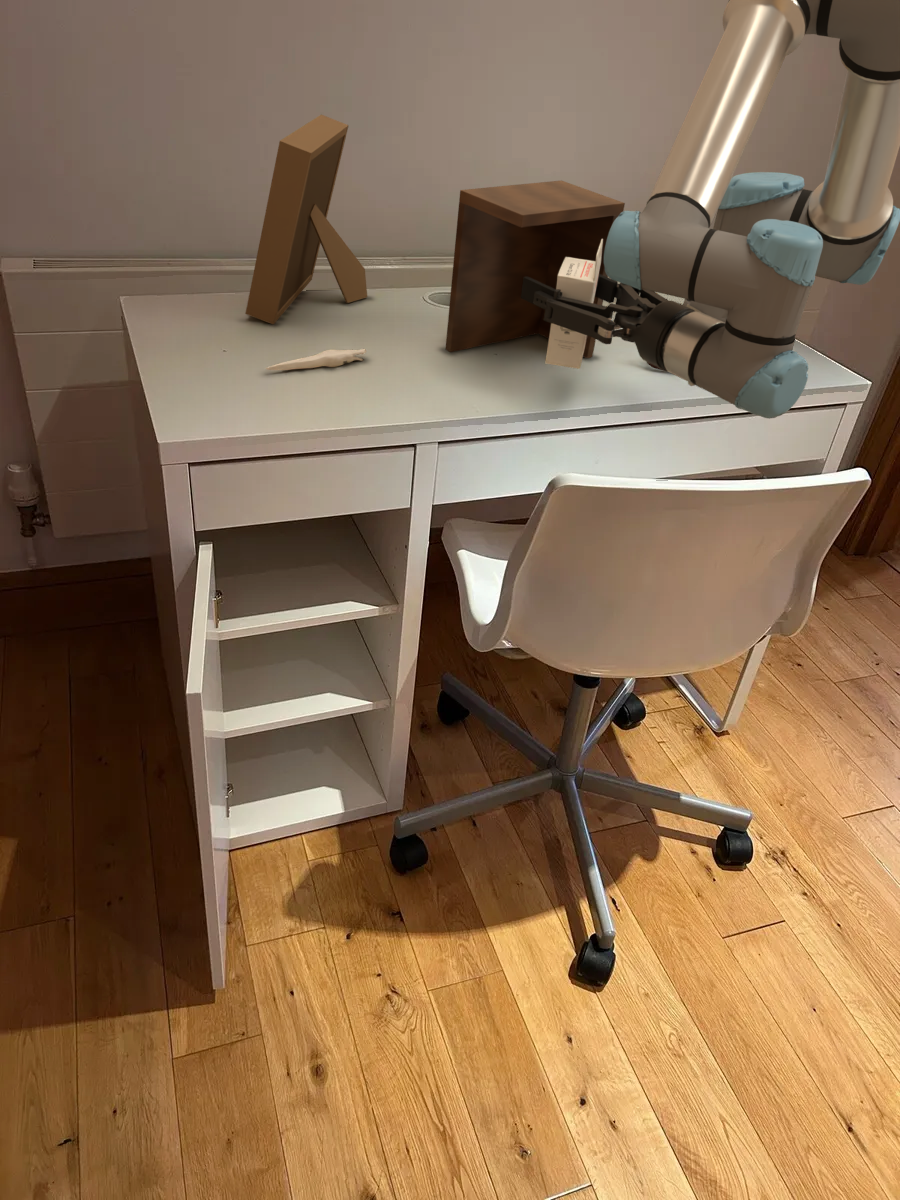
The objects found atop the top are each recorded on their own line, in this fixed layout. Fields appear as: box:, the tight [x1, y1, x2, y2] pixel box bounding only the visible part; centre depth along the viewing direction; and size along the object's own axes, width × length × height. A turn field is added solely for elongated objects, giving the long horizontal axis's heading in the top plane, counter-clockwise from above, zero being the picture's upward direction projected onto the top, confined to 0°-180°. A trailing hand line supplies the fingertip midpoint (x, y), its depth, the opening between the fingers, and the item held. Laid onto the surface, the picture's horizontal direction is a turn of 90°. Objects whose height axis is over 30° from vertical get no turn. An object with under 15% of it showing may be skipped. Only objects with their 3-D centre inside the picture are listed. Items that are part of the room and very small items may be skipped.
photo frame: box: [245, 114, 368, 325], centre depth 137 cm, size 15×22×25 cm
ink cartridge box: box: [544, 239, 603, 370], centre depth 120 cm, size 9×5×15 cm, turn 168°
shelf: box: [445, 179, 626, 359], centre depth 130 cm, size 19×12×22 cm
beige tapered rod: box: [265, 348, 367, 371], centre depth 125 cm, size 15×3×2 cm, turn 123°
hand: (552, 282), depth 122 cm, fingers closed on ink cartridge box, 9 cm apart
